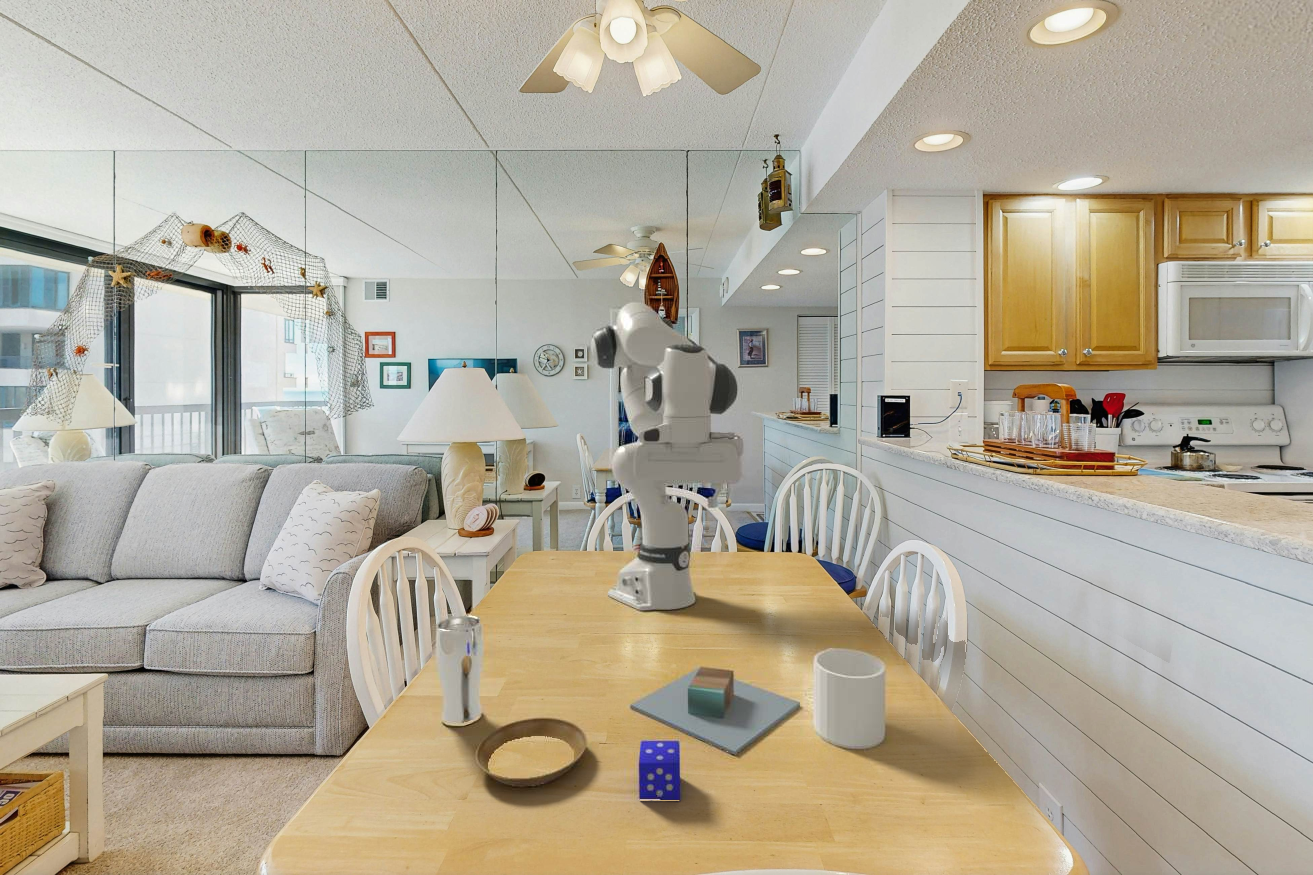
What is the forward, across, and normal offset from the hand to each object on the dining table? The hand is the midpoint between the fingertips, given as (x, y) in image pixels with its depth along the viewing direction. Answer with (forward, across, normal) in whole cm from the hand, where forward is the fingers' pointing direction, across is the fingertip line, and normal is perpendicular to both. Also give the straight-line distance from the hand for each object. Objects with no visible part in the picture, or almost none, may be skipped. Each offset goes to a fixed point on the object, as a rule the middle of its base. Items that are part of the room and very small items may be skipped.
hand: (687, 506), depth 115 cm
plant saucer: (+29, +12, +38) cm, 50 cm away
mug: (+29, -28, +18) cm, 44 cm away
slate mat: (+29, -8, +17) cm, 35 cm away
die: (+29, -6, +39) cm, 49 cm away
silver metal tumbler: (+29, +29, +31) cm, 51 cm away
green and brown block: (+26, -8, +14) cm, 31 cm away
